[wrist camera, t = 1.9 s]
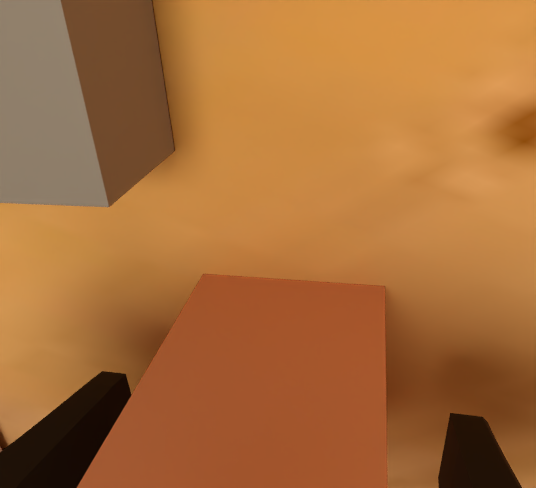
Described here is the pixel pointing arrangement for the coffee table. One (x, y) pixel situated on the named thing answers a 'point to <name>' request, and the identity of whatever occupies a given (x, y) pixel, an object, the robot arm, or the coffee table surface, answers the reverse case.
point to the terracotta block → (258, 392)
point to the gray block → (79, 100)
